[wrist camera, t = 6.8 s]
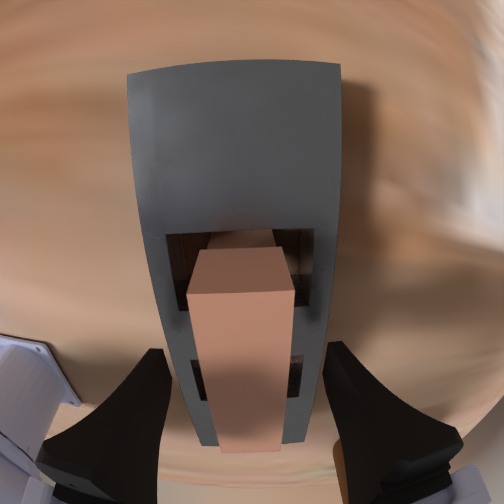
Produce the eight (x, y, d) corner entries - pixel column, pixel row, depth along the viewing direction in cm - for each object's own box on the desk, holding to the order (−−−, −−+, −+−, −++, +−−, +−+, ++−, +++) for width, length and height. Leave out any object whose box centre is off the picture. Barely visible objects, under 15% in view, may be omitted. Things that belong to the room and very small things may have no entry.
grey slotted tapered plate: (204, 416, 21) (201, 445, 19) (149, 83, 11) (126, 74, 9) (299, 412, 21) (304, 441, 19) (320, 75, 11) (340, 64, 9)
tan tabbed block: (225, 361, 18) (221, 453, 12) (210, 216, 14) (186, 293, 8) (270, 360, 18) (280, 450, 12) (271, 214, 14) (294, 290, 8)
